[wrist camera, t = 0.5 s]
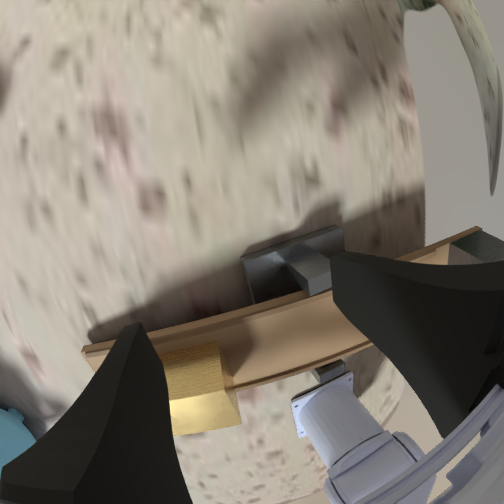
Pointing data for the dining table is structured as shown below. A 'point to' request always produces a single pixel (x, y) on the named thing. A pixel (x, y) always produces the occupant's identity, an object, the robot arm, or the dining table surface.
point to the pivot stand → (296, 274)
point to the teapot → (13, 436)
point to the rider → (200, 389)
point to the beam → (296, 323)
